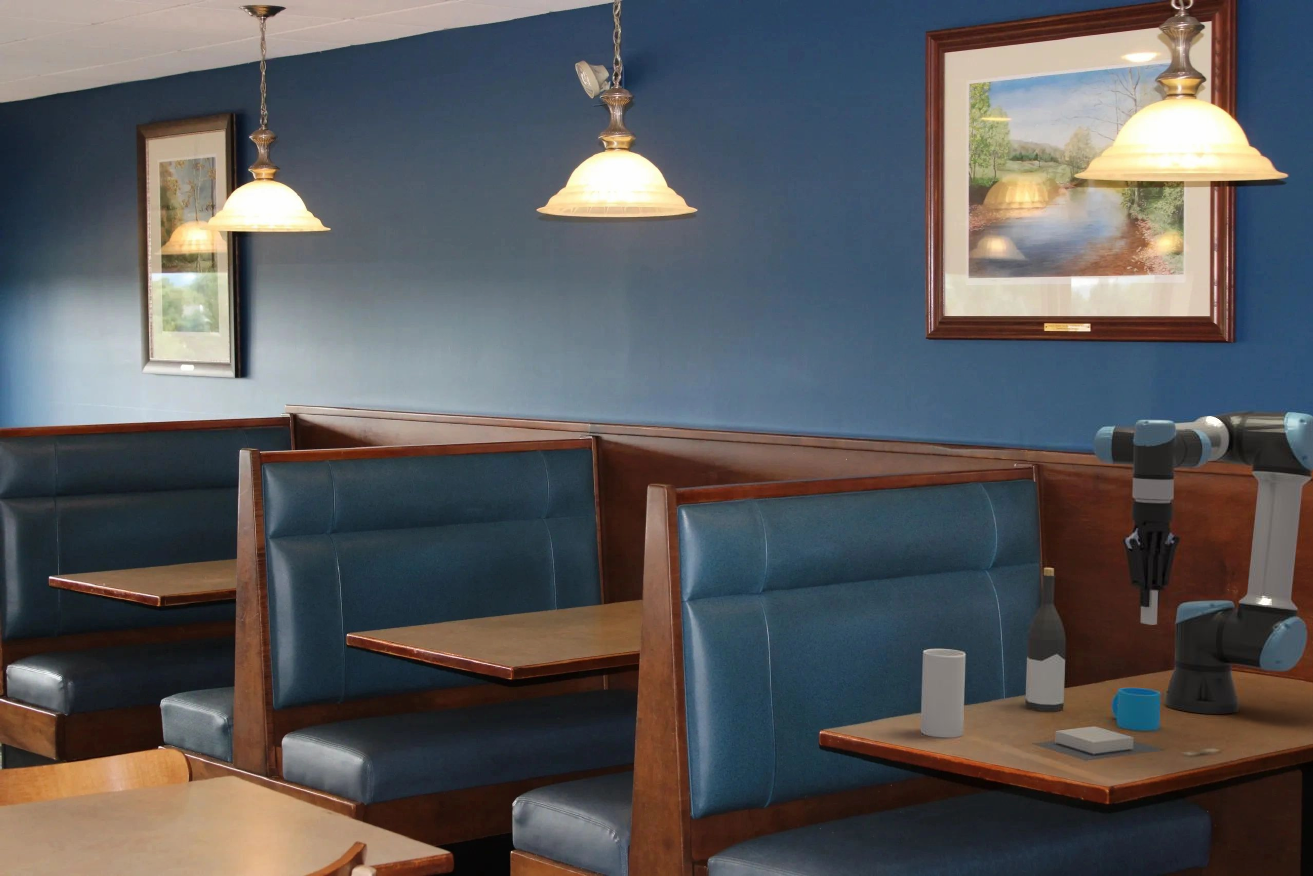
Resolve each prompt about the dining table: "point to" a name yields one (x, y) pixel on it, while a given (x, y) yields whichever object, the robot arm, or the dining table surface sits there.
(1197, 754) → the turner
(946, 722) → the cup
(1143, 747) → the mat
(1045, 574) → the wine bottle
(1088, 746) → the tile
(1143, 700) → the mug
